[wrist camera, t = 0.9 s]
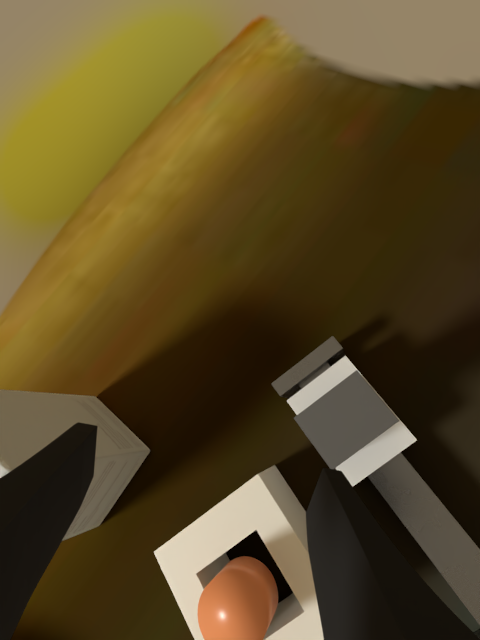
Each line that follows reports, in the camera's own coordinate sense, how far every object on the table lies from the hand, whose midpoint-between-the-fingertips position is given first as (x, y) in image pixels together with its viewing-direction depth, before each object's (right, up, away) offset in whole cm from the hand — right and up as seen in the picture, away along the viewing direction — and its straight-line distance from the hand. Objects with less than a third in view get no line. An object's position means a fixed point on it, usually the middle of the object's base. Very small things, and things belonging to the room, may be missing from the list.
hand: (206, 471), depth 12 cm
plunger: (+2, -10, +10) cm, 15 cm away
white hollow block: (+3, -11, +13) cm, 17 cm away
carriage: (+8, -2, +13) cm, 16 cm away
